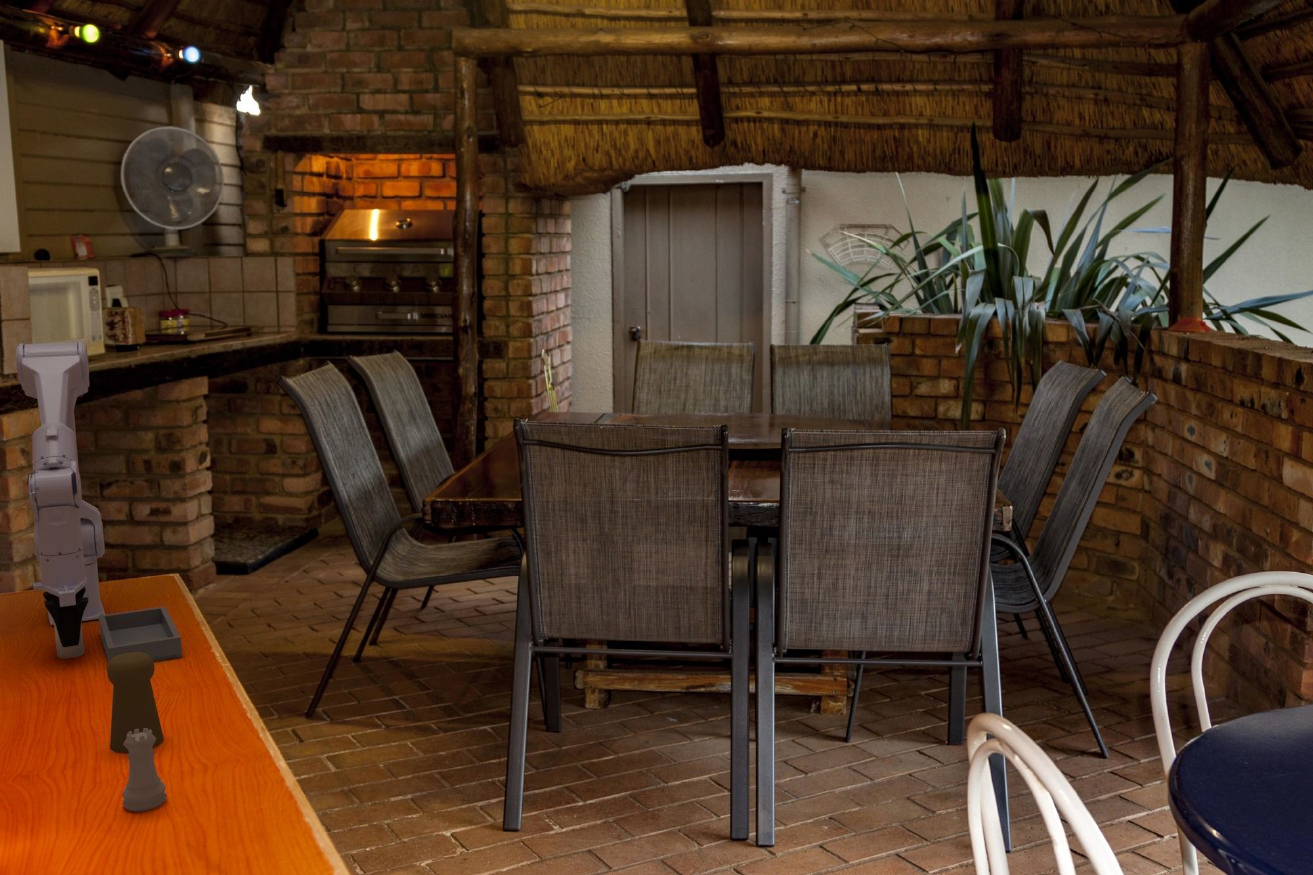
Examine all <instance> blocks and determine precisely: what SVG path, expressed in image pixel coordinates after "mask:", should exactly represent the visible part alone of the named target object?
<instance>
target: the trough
mask: <svg viewBox="0 0 1313 875" xmlns="http://www.w3.org/2000/svg"><path fill="white" fill-rule="evenodd" d="M98 618H99V619H98V628H99V635H100V639H101V643H102V646H103V649H104V653H105V656H106V659H107V662H108V664H109V662H110V660H111V659H112V658H114V657H116V656H118V655H121V654H124V653H130V652H142V653H146V654H148V655H150V657H151V658H152V659H153V662H154V663H156V662H161V661H166V660H174V659H181V658H183V648H182V636H181V635H180V633H179V631H178V629H177V627H176V625H175V622H174V621H173V619H172V617H171V615H170V612H169V610H168V609H167V607H166V606H159V607H158V606H157V607H150V608H144V609H139V610H138V609H137V610H130V611H129V610H128V611H124V612H116V613H108V614H105V615H101V616H98Z"/></svg>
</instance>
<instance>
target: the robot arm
mask: <svg viewBox="0 0 1313 875" xmlns="http://www.w3.org/2000/svg"><path fill="white" fill-rule="evenodd" d="M87 346H88V345H87V344H86V343H85V342H84V341H83V340H78V342H77V341H74V342H73V341H72V342H71V341H70V342H51V343H50V342H48V343H24V342H23V343H19V345H18V346H17V347H15V348H16V349H15V361H16V373H17V377H18V381H19V383H20V385H21V388H22V391H24V395H25V396H26V397H29V398H30V397H31V398H33V399H37V406H38V413H39V421H40V426H39V427H38V428H36V430H35V431H34V432H33V433H32V436H31V439H32V440H31V446H32V447H31V448H32V453H31V454H32V474H31V473H30V474H29V475H28V476H29V477H28V494H29V495H28V496H29V502H30V506H31V509H32V513H33V514H32V515H33V522H34V524H33V525H34V530H33V540H34V550H35V551H34V552H35V557H36V561H38V562H39V564H40V566H39V567H40V574H41V581H37V582H33V583H32V585H33V586H32V587H33V588H32V589H33V590H34V591H39V590H42V591H44V592H42V596H43V598H44V599H45V600H44V601H43V602H44V606H45V608H46V610H47V614H48V620H49V625H50V626H54V622H55V625H56V628H57V631H58V635H59V639H60V642H61V644H62V646H63V647H70V646H77V645H78V644H79V640H80V632H81V622H86V621H93V620H94V621H95V620H99V618H98V616H101V615H106V612H105V610H104V606H103V603H102V601H101V597H100V596H101V593H100V583H99V573H98V570H99V569H98V562H97V561H98V559H99V558H102V556H104V555H105V549H106V548H105V537H104V526H103V521H102V514H101V512H100V510H99V508H97V507H96V506H94V505H93V504H90V503H88V502H87V501H85V500H84V499H82V493H83V492H82V482H81V474H80V471H79V470H80V469H79V457H78V446H77V445H78V444H77V434H76V421H75V420H76V419H75V406H76V402H77V399H78V397H80V396H82V395H84V394H86V393H88V392H89V387H90V370H89V368H90V367H89V365H90V364H89V356H88V355H89V354H88V347H87ZM81 519H83V520H81ZM85 519H86V520H85Z"/></svg>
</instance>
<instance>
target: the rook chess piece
mask: <svg viewBox="0 0 1313 875" xmlns="http://www.w3.org/2000/svg"><path fill="white" fill-rule="evenodd" d="M126 737H127V739H126V740H125V742H124V743H123V745H124V746H125V747H126V748H127V749H128V751H129V753H127V756H126V758H127V760H128V763H129V765H128V766H129V768H128V769H129V770H128V780H127V782H126V784H125V787H124V789H123V791H122V795H121V796H122V798H123V801H122V802H121V803H122V804H121V805H122V806H123V807H124V808H125V809H126V810H127V811H129V812H131V813H132V812H134V813H137V812H138V813H141V812H149V811H152V810H155V809H157V808H159V807H160V806H162V805H163V804H164V803H165V802H166V800H167V797H168V795H167V793H166V792H165V791H166V789H167V787H166V785H165V783H164V782H163V781H162V779H161V777H160V776H159V775H158V772H157V769H156V764H155V757H154V756H155V754H156V751H155V750H154V748H152V747H153V744H154V743H155V741H156V737H155V736H154V735H152V730H151V729H150V730H148V728H143V732H141V733H139V729H135V730H134V734H132V732H131V731H130V732H128V733H127V735H126Z"/></svg>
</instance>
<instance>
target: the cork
mask: <svg viewBox="0 0 1313 875" xmlns="http://www.w3.org/2000/svg"><path fill="white" fill-rule="evenodd" d="M106 672H107V678H108V681H109V682H110V683H111V684H112V687H113V688H112V689H113V690H112V704H111V719H110V720H111V723H110V725H111V726H110V739H109V740H110V741H109V749H110V751H112V752H113V753H118V754H125V755H126V754H127V755H128V754H129V751H128V749H127V748H126V747H125V746H124V745H123V743H124V742H125V740H126V739H127V737H126V735H127V733H128V732H130V731H131V732H132V734H134V730H135V729H139V733H141V732H143V728H148V730H150V729H151V730H152V735H154V736H155V737H156V741H155V743H154V744H153V747H152V748H153V749H155V748H156V747H159V746H160V745H162V744H163V742H164V741H165V738H164V733H163V730H162V729H163V728H162V726H161V721H160V720H161V719H160V716H159V712H158V707H157V703H156V698H155V695H154V691H153V687H152V681H151V679H152V678H153V676H154V673H155V662H153V659H152V658H151V657H150V655H148V654H146V653H142V652H130V653H124V654H121V655H118V656H116V657H114V658H112V659H111V660H110V662H109V663H108V664H107V667H106Z"/></svg>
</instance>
